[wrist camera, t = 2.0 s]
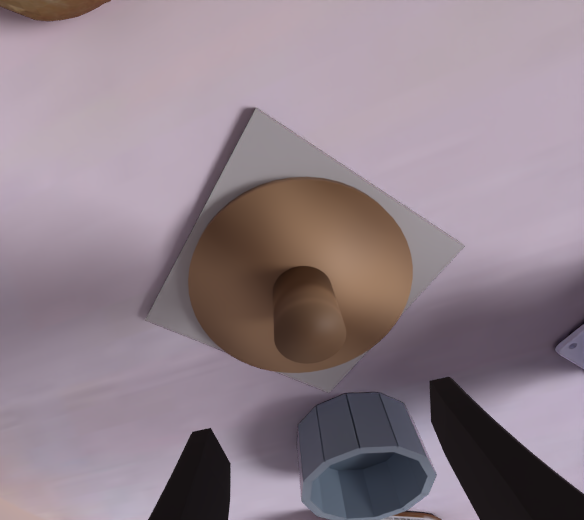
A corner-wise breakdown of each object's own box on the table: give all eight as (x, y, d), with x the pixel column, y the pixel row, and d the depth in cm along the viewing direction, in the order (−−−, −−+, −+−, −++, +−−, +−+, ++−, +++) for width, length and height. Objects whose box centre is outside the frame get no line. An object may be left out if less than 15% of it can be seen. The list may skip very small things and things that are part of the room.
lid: (259, 125, 14) (256, 139, 10) (452, 248, 18) (503, 292, 14) (156, 318, 19) (128, 378, 15) (327, 386, 22) (340, 449, 18)
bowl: (342, 377, 23) (356, 430, 19) (435, 416, 25) (462, 469, 22) (275, 449, 26) (277, 506, 22) (364, 477, 29) (378, 531, 25)
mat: (256, 107, 14) (255, 108, 14) (460, 242, 18) (465, 246, 18) (147, 315, 19) (144, 320, 19) (328, 387, 23) (329, 393, 23)
